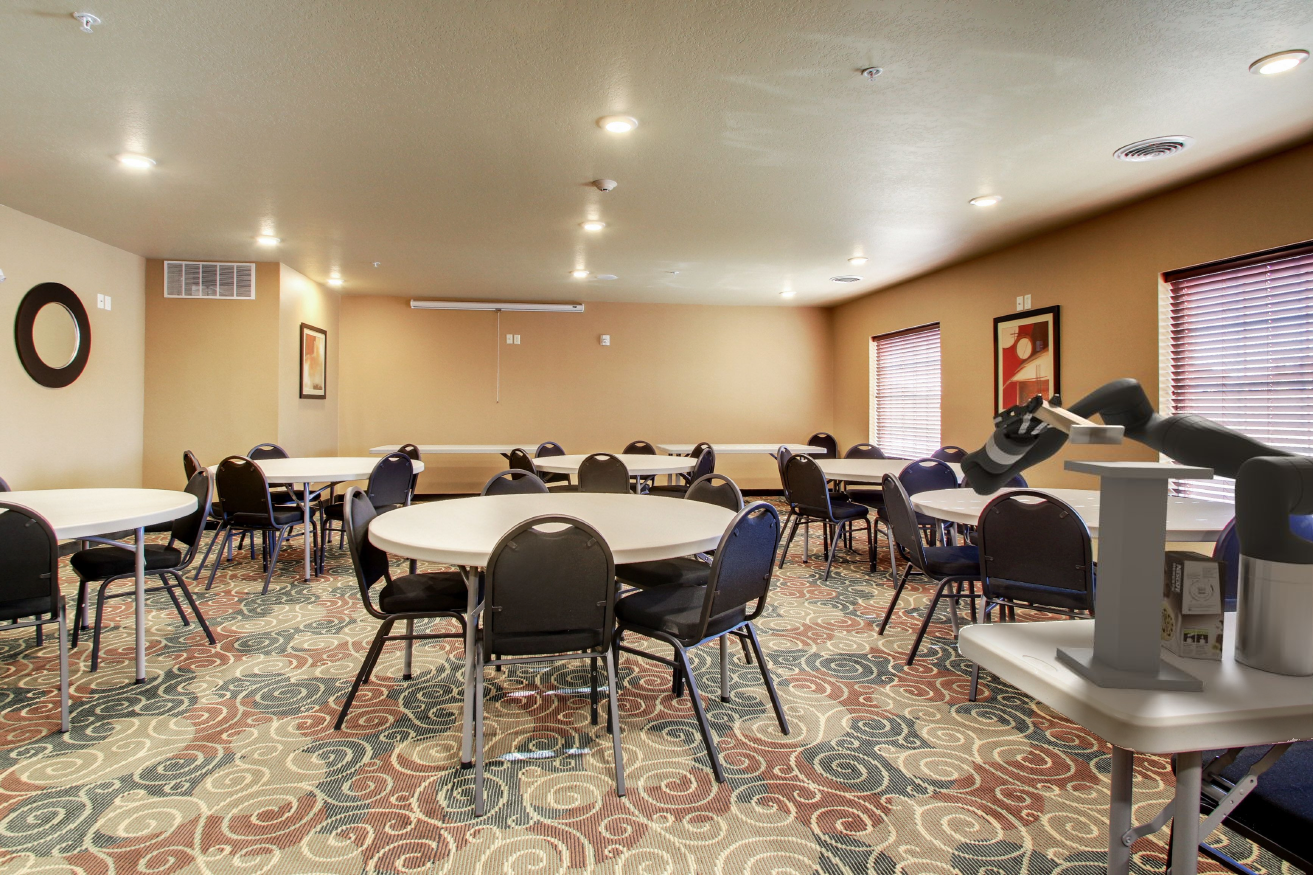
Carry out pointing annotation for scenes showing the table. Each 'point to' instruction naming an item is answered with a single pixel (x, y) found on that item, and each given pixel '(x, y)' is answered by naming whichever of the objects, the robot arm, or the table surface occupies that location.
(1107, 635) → the stand
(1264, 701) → the table surface
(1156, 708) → the table surface
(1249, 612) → the robot arm
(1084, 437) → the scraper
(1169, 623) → the coffee box
